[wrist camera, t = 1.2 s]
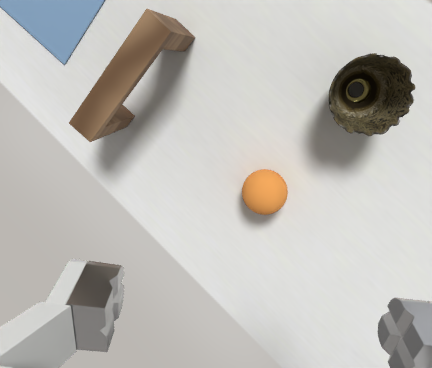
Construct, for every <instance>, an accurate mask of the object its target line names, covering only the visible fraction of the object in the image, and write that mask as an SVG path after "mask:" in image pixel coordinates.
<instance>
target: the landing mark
mask: <svg viewBox="0 0 432 368" xmlns="http://www.w3.org/2000/svg"><path fill="white" fill-rule="evenodd" d="M104 1H105V0H0V7H1V8H2V9H4V10H5V11H6V12H7V13H8V14H9V15H10V16H11V17H12V18H13V19H15V20H16V21H17V22H18V23H19V24H20V25H21V26H22V27H23V28H24V29H26V30H27V31H28V32H29V33H30V34H31V35H32V36H33V37H34V38H36V39H37V40H38V41H39V42H40V43H41V44H42V45H43V46H44V47H45V48H47V49H48V50H49V51H50V52H51V53H52V54H53V55H54V56H55V57H56V58H58V59H59V60H60V61H61V62H62V63H63V64H66V62H67V60H68V59H69V57H70V56H71V54H72V52H73V51H74V49H75V48H76V46H77V44H78V43H79V41H80V40H81V38H82V36H83V35H84V33H85V31H86V30H87V28H88V27H89V25H90V23H91V22H92V20H93V19H94V17H95V15H96V14H97V12H98V11H99V9H100V7H101V6H102V4H103V3H104Z"/></svg>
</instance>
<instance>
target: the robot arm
mask: <svg viewBox="0 0 432 368" xmlns="http://www.w3.org/2000/svg"><path fill="white" fill-rule="evenodd" d="M123 276H124V267H123V266H121V265H114V264H107V263H101V262H94V261H84V260H77V259H71V260H70V261H69V262H68V263H67V265H66V266H65V268H64V270H63V272H62V274H61V275H60V277H59V279H58V280H57V282H56V284H55V286H54V287H53V289H52V291H51V293H50V294H49V296H48V298H47V300H46V302H39V303H37V304H35V305H34V306H32V307H31V308H29V309H28V310H26V311H24V312H23V313H21V314H20V315H18V316H16V317H15V318H13V319H12V320H10V321H9V322H7V323H5V324H4V325H2V326H1V327H0V368H60V367H61V366H62V365H63V364H64V363H65V362H66V361H67V360H68V359H69V358H70V357H71V356H72V355H73V354H74V353H75V352H76V350H77V349H78V350H89V351H101V352H107V351H108V348H109V345H110V342H111V339H112V336H113V333H114V321H115V320H116V319H118V318H119V315H120V311H121V308H122V303H123V298H124V285H123V284H122V283H121V282H122V279H123ZM388 308H389V312H388V313H386V314H384V315H383V316H382V317H381V319H380V321H379V323H378V337H379V341H380V344H381V346H382V348H383V349H384V350H385V351H386V352H387V353H388V354H389V355H390V357H389V360H388V363H389V366H390V368H432V302H431V301H422V300H412V299H403V298H394V299H392V300H391V301H390V302H389V304H388Z"/></svg>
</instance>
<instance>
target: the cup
mask: <svg viewBox="0 0 432 368" xmlns="http://www.w3.org/2000/svg"><path fill="white" fill-rule="evenodd" d="M411 77H412V74H411V70H410V69H409V68H408V67H407V66H405V65H404V64H402V63H401V62H400V60H399V59H398V58H396V57H387V56H384V55H377V53H374V54H368V55H365V56H361V57H358V58H355V59H354V60H352V61H351V62H349V63H348V64H347V65H346V66H344V67H343V68H342V69H341V70H340V71H339V72H338V73H337V75H336V76H335V78H334V79H333V81H332V84H331V87H330V91H329V107H330V111H331V113H332V115H333V118H334V120H335V121H336V123H337V124H338V125H339V126H341V127H342V128H344V129H345V130H346V131H347V132H349V133H353V132H357V133H359V134H361V133H363V134H366V135H368V136H372V135H373V134H384V133H386V132H387V131H388V130H389V128H390V127H391V126H397V125H398V124H399V122H400V120H399V117H403V116H404V115H406V114H407V113H408V112H409V106H411V105H412V103H413V101H414V99H413V96H412V94H411V91H413V90H415V85H414V84H413V83H411ZM355 82H358V83H361V84H362V85H363V88H364V90H363V93H362V94H361V95H360V96H359V97H352V96H350V95H349V92H348V89H349V86H350V85H351V84H353V83H355Z"/></svg>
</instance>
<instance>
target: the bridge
mask: <svg viewBox="0 0 432 368" xmlns="http://www.w3.org/2000/svg"><path fill="white" fill-rule="evenodd" d="M194 38H195V37H194V36H193V35H192V34H191V33H190V32H189V31H188V30H187V29H186V28H185V27H184V26H183V25H182V24H181V23H179V22H178V21H177V20H176V19H174V18H171V17H168V16H166V15H163V14H160V13H157V12H155V11H152V10H149V9H146V10H145V12H144V13H143V15H142V16H141V18H140V19H139V21H138V22H137V24H136V25H135V27H134V28H133V30H132V31H131V33H130V34H129V35H128V37H127V38H126V40H125V41H124V43H123V44H122V46H121V47H120V49H119V50H118V52H117V53H116V55H115V56H114V57H113V59H112V60H111V62H110V63H109V65H108V66H107V68H106V69H105V71H104V72H103V74H102V75H101V77H100V78H99V79H98V81H97V82H96V84H95V85H94V87H93V88H92V90H91V91H90V93H89V94H88V96H87V97H86V99H85V100H84V102H83V103H82V104H81V106H80V107H79V109H78V110H77V112H76V113H75V115H74V116H73V118H72V119H71V121H70V122H69V124H70V125H71V126H73V127H74V128H75V129H76V130H77V131H78V132H79V133H80V134H82V135H83V136H84V137H85V138H86V139H87V140H88V141H89V142H92V141H94V140H97V139H99V138H101V137H104V136H106V135H109V134H111V133H113V132H116V131H118V130H121V129H123V128H126V127H127V126H128V124H129V123H130V122H131V120H132V119H133V118H134V117H135V116H134V115H133V114H132V113H131V112H130V111H129V110H128V109H127V108H126V107H125V106H123V105H122V104H123V102H124V101H125V100H126V98H127V97H128V96H129V94H130V93H131V91H132V90H133V89H134V87H135V86H136V85H137V83H138V82H139V81H140V79H141V78H142V77H143V75H144V74H145V72H146V71H147V70H148V68H149V67H150V66H151V64H152V63H153V62H154V60H155V59H156V58H157V56H158V55H159V53H160V52H161V51H162V49H164V50H176V51H185V50H186V49H187V48H188V46H189V45H190V44H191V42H192V41H193V40H194Z"/></svg>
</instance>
